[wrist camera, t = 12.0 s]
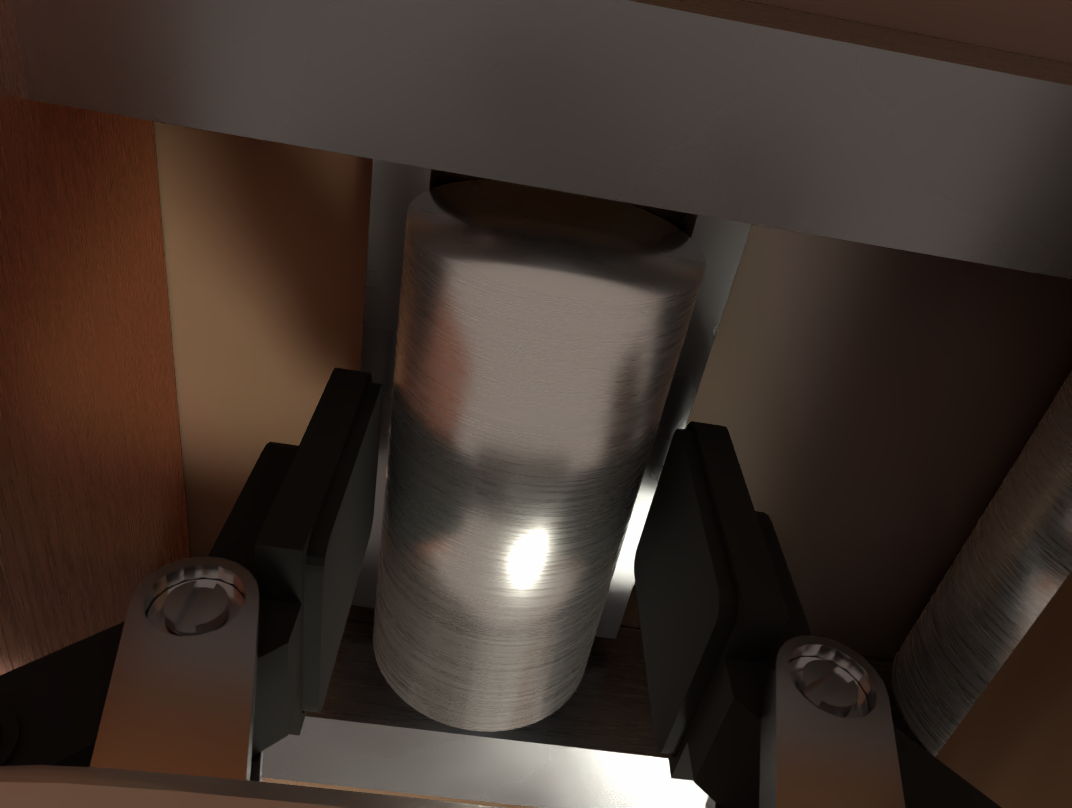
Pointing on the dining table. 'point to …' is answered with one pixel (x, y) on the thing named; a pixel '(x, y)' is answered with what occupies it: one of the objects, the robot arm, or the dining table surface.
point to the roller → (518, 438)
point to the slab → (1024, 719)
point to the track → (397, 179)
